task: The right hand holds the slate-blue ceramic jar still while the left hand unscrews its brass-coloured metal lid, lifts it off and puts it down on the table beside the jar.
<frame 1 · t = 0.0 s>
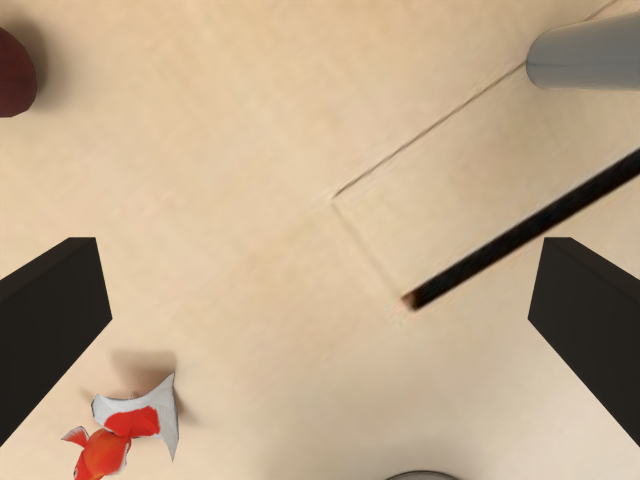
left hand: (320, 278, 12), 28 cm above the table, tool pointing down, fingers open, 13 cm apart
jar: (554, 59, 36), on the table
fish: (139, 400, 49), on the table
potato: (13, 71, 36), on the table
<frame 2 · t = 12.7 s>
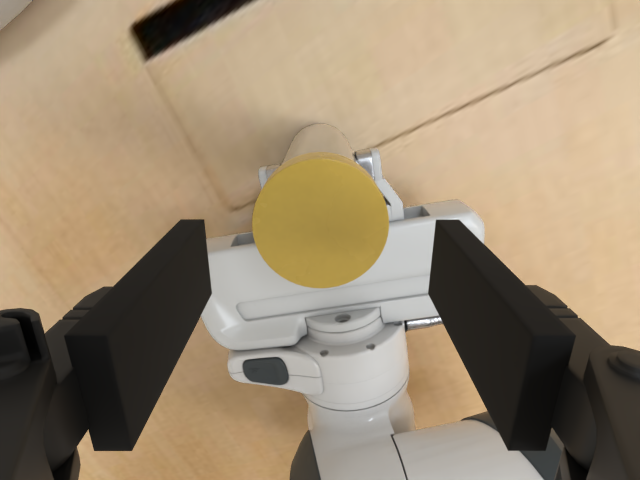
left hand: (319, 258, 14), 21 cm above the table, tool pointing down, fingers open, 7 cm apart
right hand: (317, 158, 26), fingers closed on jar, 5 cm apart
jar: (320, 155, 33), on the table, touching right hand
lid: (320, 224, 17), point 17 cm above the table, screwed on, not yet turned
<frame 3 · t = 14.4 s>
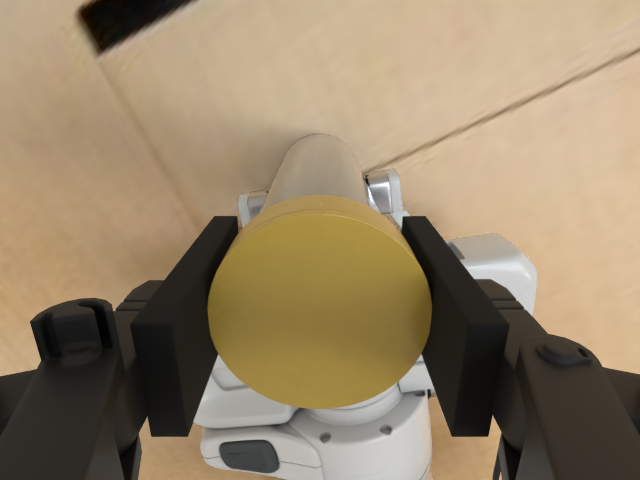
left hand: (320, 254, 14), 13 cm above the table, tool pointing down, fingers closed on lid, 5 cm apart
jar: (319, 173, 27), on the table, touching right hand
lid: (319, 313, 10), point 17 cm above the table, screwed on, not yet turned, touching left hand
when the left hand's fingers open (14 cm above the table, at t = 15.6 s): lid stays where it is, point 17 cm above the table.
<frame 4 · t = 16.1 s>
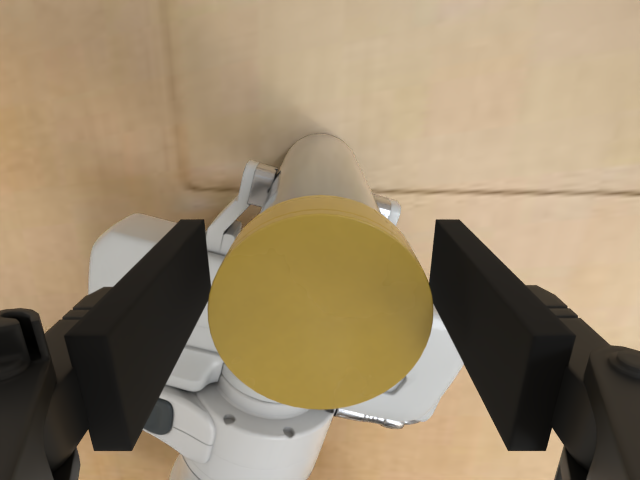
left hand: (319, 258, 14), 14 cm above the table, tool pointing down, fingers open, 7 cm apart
jar: (320, 172, 27), on the table, touching right hand
lid: (320, 314, 10), point 17 cm above the table, turned 76° so far, risen 0.2 cm, still on its thread
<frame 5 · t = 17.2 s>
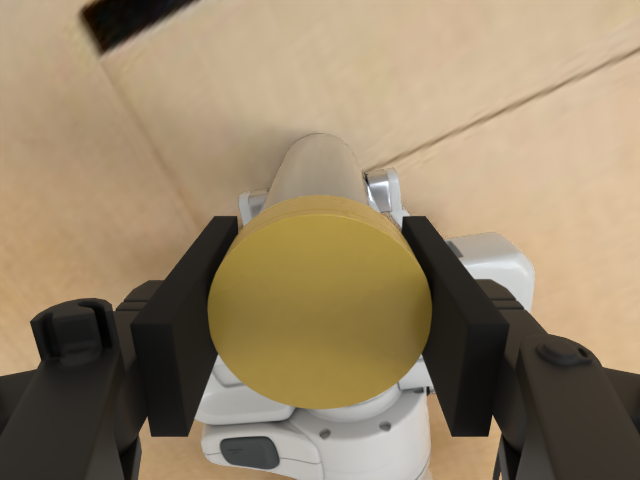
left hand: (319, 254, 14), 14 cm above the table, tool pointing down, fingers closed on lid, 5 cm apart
jar: (319, 172, 27), on the table, touching right hand
lid: (319, 314, 10), point 17 cm above the table, turned 76° so far, risen 0.2 cm, still on its thread, touching left hand
when the left hand's fingers open (0 cm above the table, at t = 23.9 s): lid stays where it is, point 1 cm above the table.
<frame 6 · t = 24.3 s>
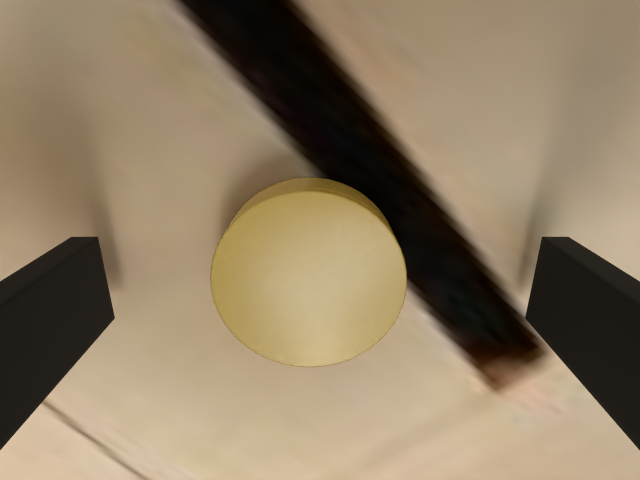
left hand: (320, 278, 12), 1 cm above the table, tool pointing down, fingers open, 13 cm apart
lid: (309, 281, 12), point 1 cm above the table, off its thread
when the right hand's fingers open (7 cm above the table, at t = 24.9 s): jar stays where it is, on the table.
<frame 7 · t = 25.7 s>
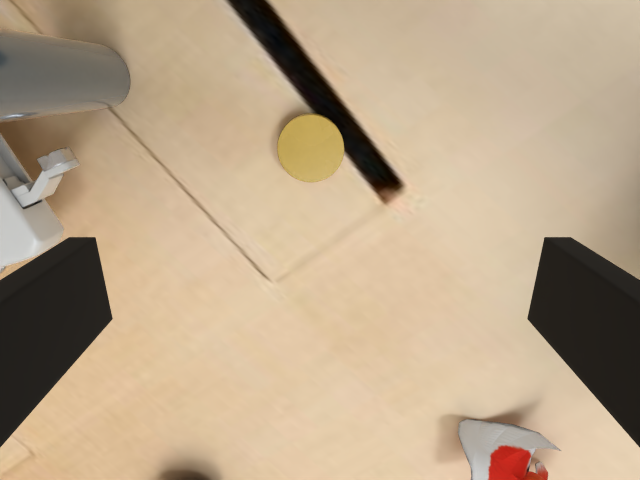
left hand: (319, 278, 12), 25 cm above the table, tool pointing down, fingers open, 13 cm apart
jar: (99, 76, 34), on the table
fish: (496, 447, 49), on the table
lid: (310, 148, 35), point 1 cm above the table, off its thread
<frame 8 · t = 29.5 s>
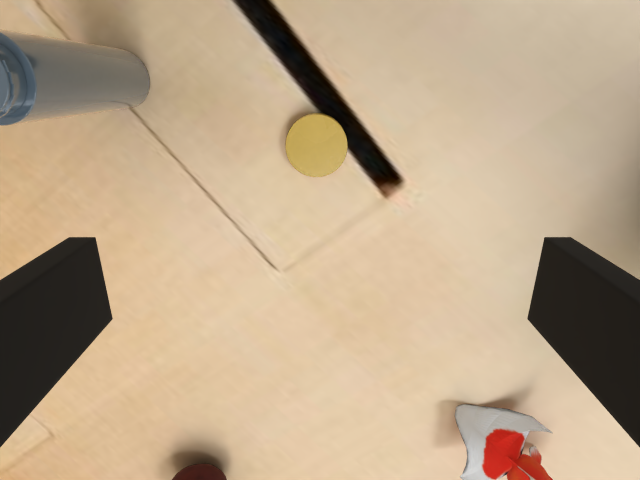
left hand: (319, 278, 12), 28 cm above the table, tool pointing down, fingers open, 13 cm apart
jar: (122, 79, 36), on the table
fish: (492, 431, 51), on the table
lid: (316, 146, 37), point 1 cm above the table, off its thread
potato: (205, 470, 53), on the table
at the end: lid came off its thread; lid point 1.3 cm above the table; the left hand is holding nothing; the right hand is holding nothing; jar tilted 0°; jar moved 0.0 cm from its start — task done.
